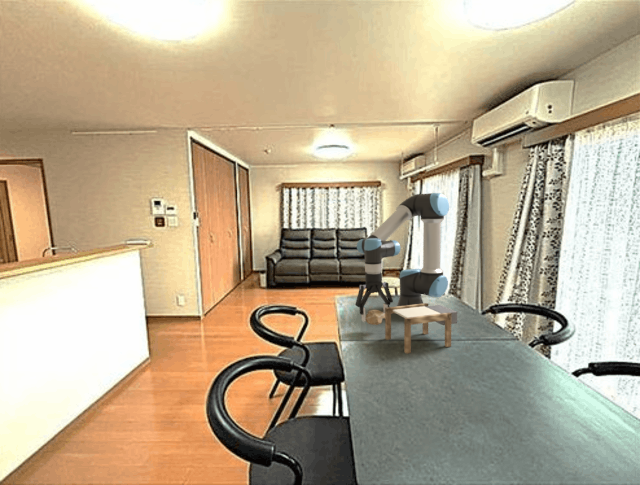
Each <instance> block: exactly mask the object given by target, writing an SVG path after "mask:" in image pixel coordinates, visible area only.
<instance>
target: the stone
mask: <svg viewBox="0 0 640 485" xmlns="http://www.w3.org/2000/svg"><path fill="white" fill-rule="evenodd" d="M365 317H366V323H367V324H368V325H373V326H375V325H376V326H378V325H381V324H382V323H383V319H385V313H384V311H381V310H378V309H370V310H368V311H367V313H366V314H365Z"/></svg>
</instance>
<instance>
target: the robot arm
mask: <svg viewBox="0 0 640 485" xmlns="http://www.w3.org/2000/svg"><path fill="white" fill-rule="evenodd" d="M449 211H450V202H449V200H448V198H447V196H446V195H444V194H443V193H440V192H432V193H429V192H428V193H417V194H413V195H411V196H410V197H408V198H406V199H405V200H403V201H402V202H401V203H400V204H399V205H397V207H396V209H395V211H394V212H393V213H392V214H391V215H390V216H389V217H388V218H387V219H385V220H384V222H382V223H381V225H380V226H378V227H377V228H376V229H375V230H374V231H373V232H371V234H370V235H369V236H367V237H366V238H362V239H359V240H358V241H357V243H356V249H357V252H358V253H360V254H362V255H364V269H365V270H364V271H365V276H364V278H365V284H359V286H358V293H357V296H356V301H355V304H354V305H355V306H356V307H358V308H359V314H360V315H361V321H362V322H363V323H367V321H366V307H365V305H366V303H367V302H368V299H369V298H370V296H371V295H372V294H374V293H378V295H379V296H380V297H381V298H382V301H384V303H383V309H382V310H383V312H384V313H385V308H388V307H390V305H391V303H393V302H394V299H393V296H392V294H391V290H390V288H389V283H388V281H387V282H386V281H384V282H383V273H382V271H383V269H382V268H383V267H382V263H383V262H382V259H383V258H385V259H386V258H390V257H396V256H397V255H399V254H400V252H401V245H400V242H399V241H398V240H395V239H394V240H392V239H389V238H390V237H391V236H392V235H393V234H394V233H395V232H396V231H397V230H398V229H399V228H400V227H401V226H402V225H403V224H404V223H405V222H407V221H410V220H411V219H412V218H415V217H419V216H420V221H422V223H423V242H422V243H423V244H422V245H423V247H422V248H423V256H422V258H423V260H422V268H412V269H411V268H410V269H403V270H401V271H400V273H399V299H398V301H397V303H396V307H397V306H406V305H414V304H423V303H424V301H423V299H422V296H428V297H430V298H433V297H434V298H440V297H442V296H444V294H445V293H446V291H447V290H448V285H449V280H448V278H447V276H445V275H444V270H443V269H442V268H441V242H442V241H441V235H442V234H441V233H442V232H441V228H442V227H441V226H442V224H441V223H442V222H443V221H444V219H445V216H446V215H447V214H448V213H449ZM388 239H389V240H388ZM382 288H383V289H384V291H383V290H382ZM365 289H366V290H365ZM384 292H385V293H384Z"/></svg>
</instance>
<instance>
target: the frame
mask: <svg viewBox="0 0 640 485" xmlns="http://www.w3.org/2000/svg"><path fill="white" fill-rule="evenodd" d="M422 306H429V303H427V302H423V304H414V305H406V306H397V305H396V306H389V307H388V308H385V318H384V319H385V320H384V322H385V323H384V326H385V327H384V329H385V330H384V332H385V333H384V334H385V338H384V339H385V340H386V341H389V340H392V314H395V313H394V312H393V310H396V309H405V308H413V307H422ZM451 316H452V313H441V314H433V315H425V316H417V317H409V318H404V317H403V320H404V321H403V322H404V323H403V324H404V325H403V326H404V327H403V329H404V330H403V331H404V332H403V333H404V336H403V337H404V339H403V340H404V345H403V346H404V349H403V350H404V353H405V354H412V353H411V351H412V350H411V349H412V325H418V324H419V325H420V324H422V335H429V323H437V322H436V321H443V320H445V325H444V347H446V348H450V347H452V324H451Z"/></svg>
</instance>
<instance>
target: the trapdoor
mask: <svg viewBox="0 0 640 485" xmlns="http://www.w3.org/2000/svg"><path fill="white" fill-rule="evenodd" d="M393 312H394V314H397V315H398V316H400V317H402V318H403V319H404V318H409V317H417V316H425V315H433V314H441V313H452V316H451V325H455V324H458V311H456V310H453V309H451V308H449V307H446V306H443V305H442V304H435V305H428V306H422V307H413V308H405V309H396V310H393ZM435 323H438V324H439V325H442V326H445V320H443V321H436V322H435Z"/></svg>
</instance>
